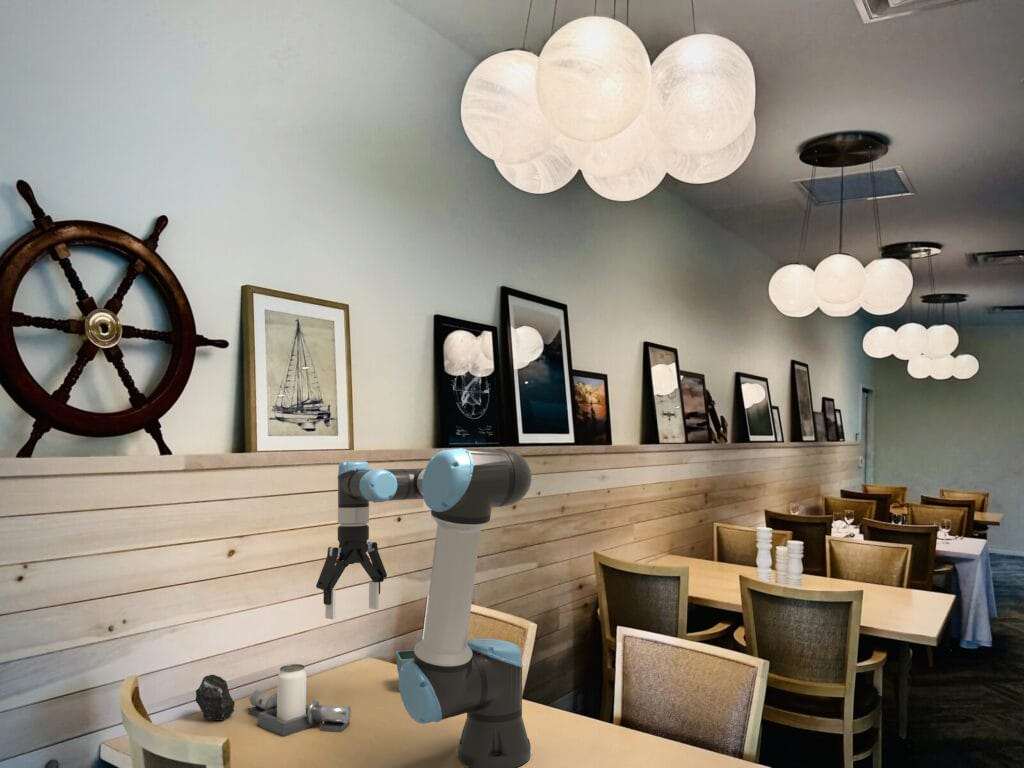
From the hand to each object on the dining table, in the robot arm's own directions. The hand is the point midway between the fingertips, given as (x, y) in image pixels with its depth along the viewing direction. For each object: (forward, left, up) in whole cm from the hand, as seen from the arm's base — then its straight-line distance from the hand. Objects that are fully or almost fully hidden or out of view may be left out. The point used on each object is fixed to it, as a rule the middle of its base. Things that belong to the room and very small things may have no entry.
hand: (352, 613), depth 178 cm
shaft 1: (+17, +12, -24) cm, 32 cm away
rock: (+24, +21, -24) cm, 40 cm away
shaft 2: (-2, +7, -24) cm, 25 cm away
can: (+7, +12, -23) cm, 27 cm away
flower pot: (+4, -24, -24) cm, 34 cm away
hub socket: (+7, +12, -24) cm, 28 cm away
